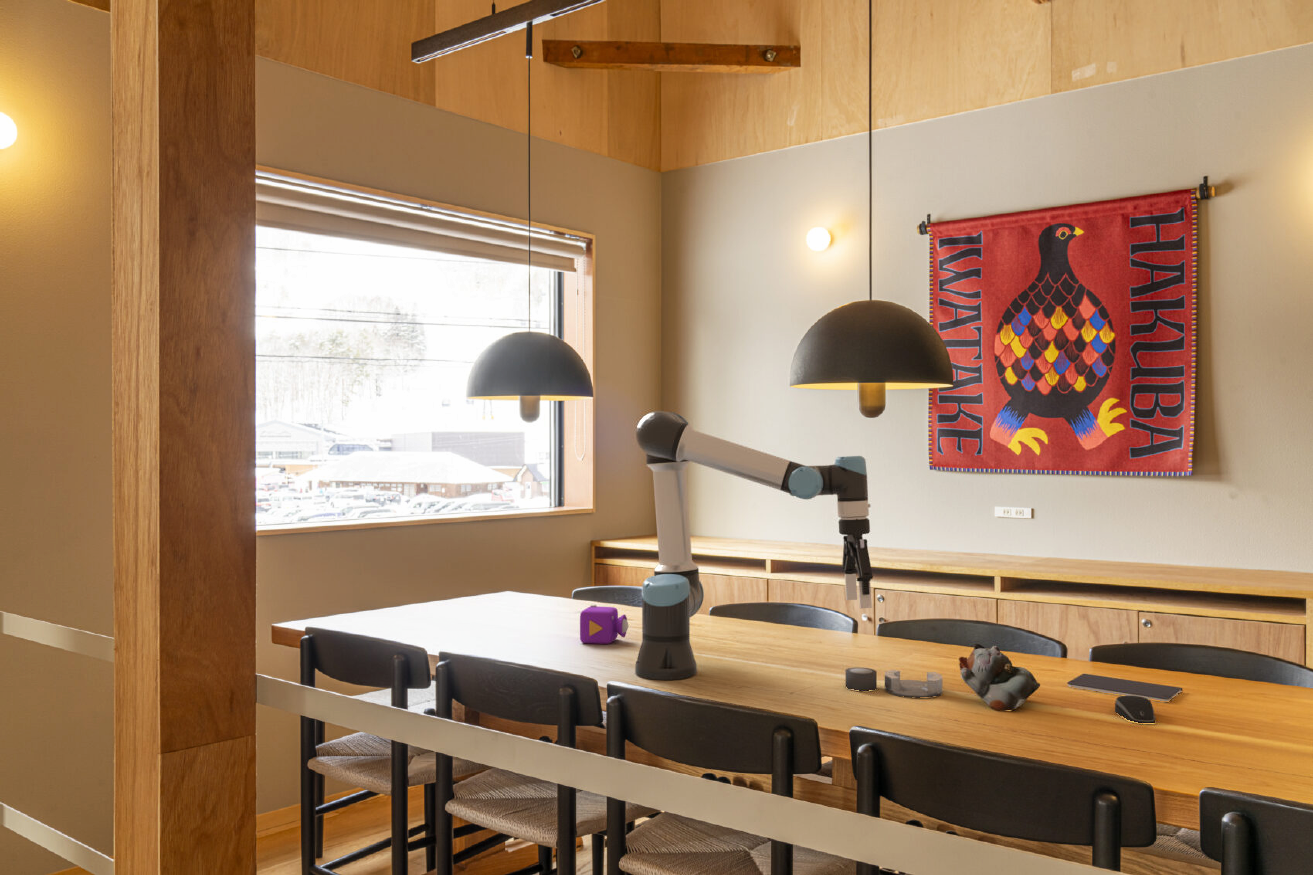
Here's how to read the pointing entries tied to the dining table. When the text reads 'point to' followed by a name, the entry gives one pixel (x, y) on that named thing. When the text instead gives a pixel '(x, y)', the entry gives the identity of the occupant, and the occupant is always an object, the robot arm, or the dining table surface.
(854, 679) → the cylinder
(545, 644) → the dining table surface
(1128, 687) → the notebook
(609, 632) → the toy camera
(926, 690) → the barrel ring
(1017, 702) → the lucky cat figurine
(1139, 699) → the computer mouse
